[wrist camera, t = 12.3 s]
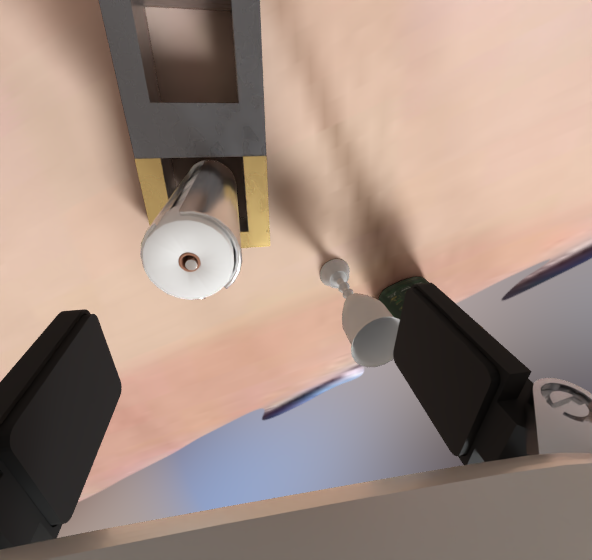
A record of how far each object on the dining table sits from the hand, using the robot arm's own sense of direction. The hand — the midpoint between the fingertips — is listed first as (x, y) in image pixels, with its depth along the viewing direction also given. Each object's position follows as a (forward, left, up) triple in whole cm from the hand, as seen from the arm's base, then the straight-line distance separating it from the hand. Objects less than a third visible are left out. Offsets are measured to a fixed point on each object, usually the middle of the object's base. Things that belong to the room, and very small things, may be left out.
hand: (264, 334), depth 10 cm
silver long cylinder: (+2, -4, -36) cm, 37 cm away
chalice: (+17, +14, -36) cm, 43 cm away
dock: (-4, -4, -36) cm, 37 cm away
